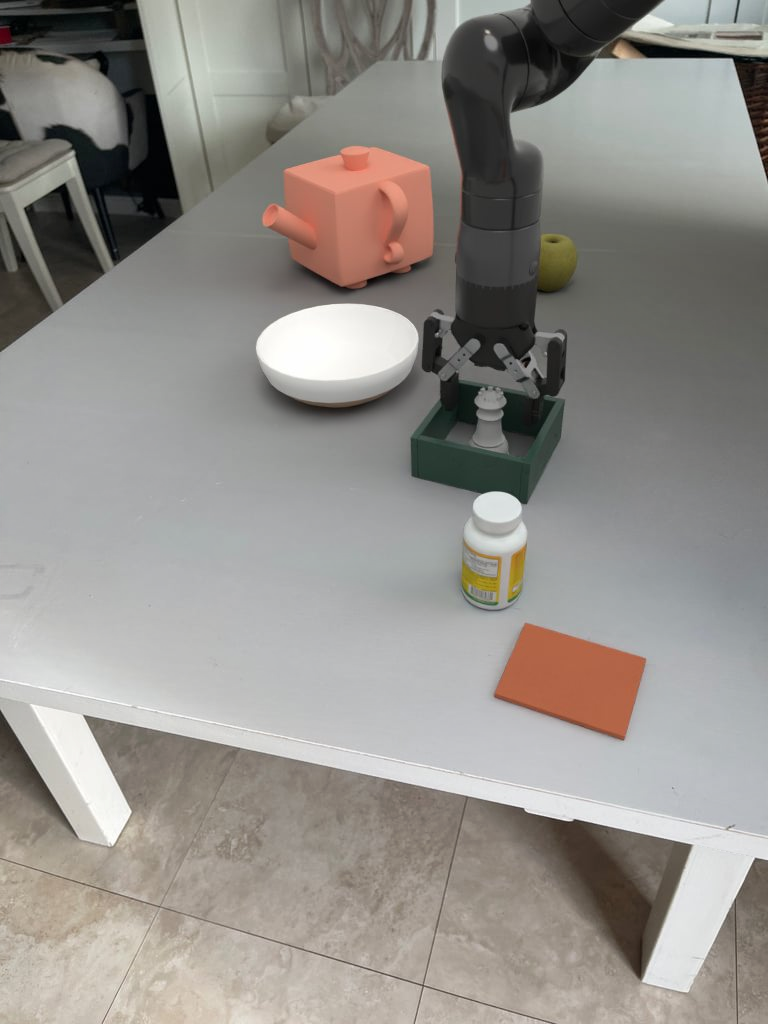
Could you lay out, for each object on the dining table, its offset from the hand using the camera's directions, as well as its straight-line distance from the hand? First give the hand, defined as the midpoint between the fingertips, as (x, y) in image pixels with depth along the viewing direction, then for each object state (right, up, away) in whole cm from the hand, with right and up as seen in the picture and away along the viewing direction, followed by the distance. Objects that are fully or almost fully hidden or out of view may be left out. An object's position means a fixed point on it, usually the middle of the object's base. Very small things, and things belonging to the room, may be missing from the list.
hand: (489, 415), depth 84 cm
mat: (+4, -23, -20) cm, 31 cm away
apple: (+13, +23, +36) cm, 45 cm away
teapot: (-17, +27, +42) cm, 53 cm away
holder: (0, -4, +3) cm, 5 cm away
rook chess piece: (0, -4, +3) cm, 5 cm away
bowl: (-16, +6, +16) cm, 24 cm away
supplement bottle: (-1, -17, -12) cm, 21 cm away
